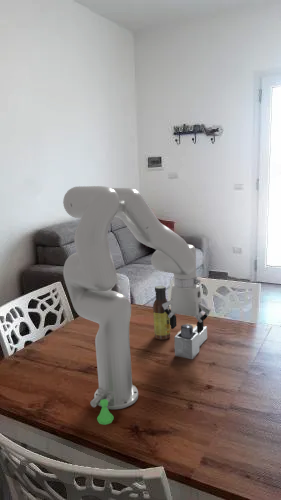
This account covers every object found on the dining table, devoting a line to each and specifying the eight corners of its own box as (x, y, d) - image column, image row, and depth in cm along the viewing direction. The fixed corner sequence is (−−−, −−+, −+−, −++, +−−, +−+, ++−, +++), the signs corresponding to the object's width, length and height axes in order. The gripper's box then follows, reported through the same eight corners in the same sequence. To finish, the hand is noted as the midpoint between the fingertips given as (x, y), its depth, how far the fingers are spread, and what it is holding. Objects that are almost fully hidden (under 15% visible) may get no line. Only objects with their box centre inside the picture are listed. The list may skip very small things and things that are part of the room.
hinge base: (192, 359, 135) (191, 339, 134) (167, 354, 140) (166, 335, 139) (210, 338, 151) (210, 320, 149) (187, 334, 155) (187, 317, 154)
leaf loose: (198, 347, 143) (198, 335, 142) (195, 346, 144) (195, 335, 143) (207, 338, 151) (206, 326, 150) (204, 337, 151) (203, 326, 150)
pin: (190, 357, 137) (190, 329, 135) (179, 355, 139) (179, 327, 137) (195, 352, 140) (194, 325, 138) (184, 350, 142) (183, 323, 140)
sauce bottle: (171, 340, 151) (169, 289, 147) (154, 340, 151) (152, 290, 147) (170, 333, 157) (168, 284, 153) (154, 333, 158) (152, 284, 153)
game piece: (117, 418, 106) (115, 398, 105) (105, 427, 103) (103, 405, 102) (105, 412, 109) (104, 392, 108) (93, 420, 106) (92, 400, 104)
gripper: (213, 281, 133) (214, 329, 137) (166, 276, 142) (168, 322, 145) (205, 287, 127) (206, 338, 130) (156, 282, 135) (159, 330, 139)
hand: (186, 329), depth 138 cm, fingers open, 9 cm apart
